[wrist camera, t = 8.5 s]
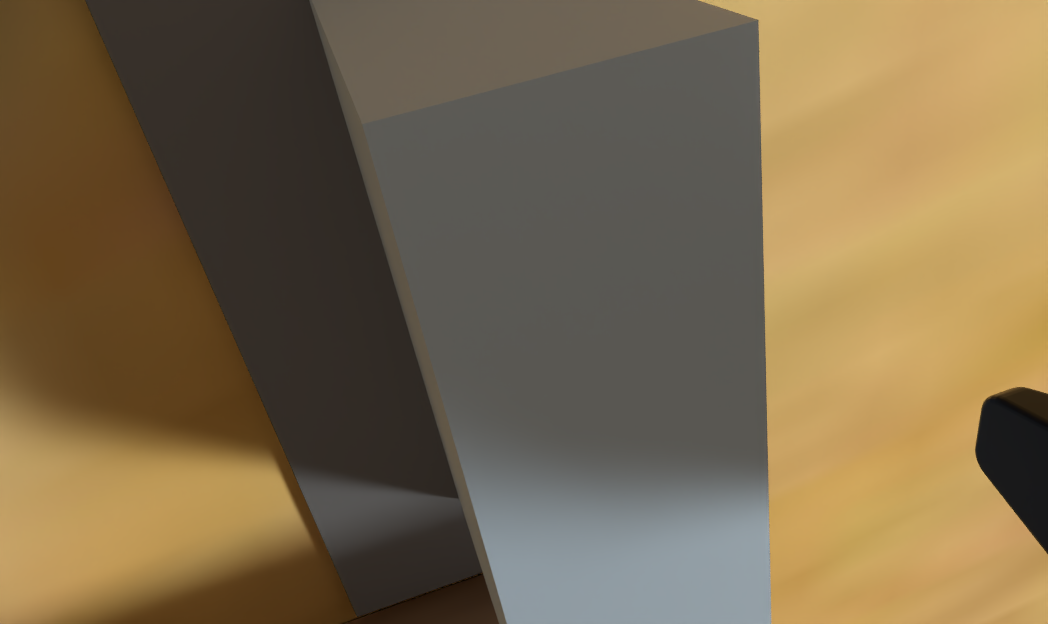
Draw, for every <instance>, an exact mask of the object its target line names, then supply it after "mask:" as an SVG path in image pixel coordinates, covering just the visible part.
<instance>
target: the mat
mask: <svg viewBox="0 0 1048 624" xmlns="http://www.w3.org/2000/svg"><path fill="white" fill-rule="evenodd" d="M85 1H86V3H87V5H88V8H89V10H90V12H91V15H92V17H93V19H94V21H95V24H96V26H97V28H98V30H99V33H100V35H101V37H102V39H103V42H104V44H105V46H106V49H107V51H108V53H109V55H110V58H111V60H112V62H113V64H114V67H115V69H116V71H117V73H118V76H119V78H120V80H121V83H122V85H123V87H124V89H125V92H126V94H127V96H128V98H129V101H130V103H131V105H132V108H133V110H134V112H135V114H136V117H137V119H138V121H139V123H140V126H141V128H142V130H143V132H144V135H145V137H146V139H147V142H148V144H149V146H150V148H151V151H152V153H153V155H154V157H155V160H156V162H157V164H158V166H159V169H160V171H161V173H162V176H163V178H164V180H165V182H166V185H167V187H168V189H169V191H170V194H171V196H172V198H173V200H174V203H175V205H176V207H177V210H178V212H179V214H180V216H181V219H182V221H183V223H184V225H185V228H186V230H187V232H188V235H189V237H190V239H191V241H192V244H193V246H194V248H195V250H196V253H197V255H198V257H199V259H200V262H201V264H202V266H203V269H204V271H205V273H206V275H207V278H208V280H209V282H210V284H211V287H212V289H213V291H214V293H215V296H216V298H217V300H218V303H219V305H220V307H221V309H222V312H223V314H224V316H225V318H226V321H227V323H228V325H229V327H230V330H231V332H232V334H233V337H234V339H235V341H236V343H237V346H238V348H239V350H240V352H241V355H242V357H243V359H244V362H245V364H246V366H247V368H248V371H249V373H250V375H251V377H252V380H253V382H254V384H255V386H256V389H257V391H258V393H259V396H260V398H261V400H262V402H263V405H264V407H265V409H266V411H267V414H268V416H269V418H270V420H271V423H272V425H273V427H274V430H275V432H276V434H277V436H278V439H279V441H280V443H281V445H282V448H283V450H284V452H285V455H286V457H287V459H288V461H289V464H290V466H291V468H292V470H293V473H294V475H295V477H296V479H297V482H298V484H299V486H300V489H301V491H302V493H303V495H304V498H305V500H306V502H307V504H308V507H309V509H310V511H311V513H312V516H313V518H314V520H315V523H316V525H317V527H318V529H319V532H320V534H321V536H322V538H323V541H324V543H325V545H326V547H327V550H328V552H329V554H330V557H331V559H332V561H333V563H334V566H335V568H336V570H337V572H338V575H339V577H340V579H341V582H342V584H343V586H344V588H345V591H346V593H347V595H348V597H349V600H350V602H351V604H352V606H353V609H354V611H355V613H356V616H357V617H359V616H362V615H364V614H367V613H370V612H373V611H376V610H378V609H381V608H384V607H387V606H390V605H392V604H395V603H398V602H401V601H404V600H406V599H409V598H412V597H415V596H418V595H420V594H423V593H426V592H429V591H432V590H434V589H437V588H440V587H443V586H446V585H448V584H451V583H454V582H457V581H460V580H462V579H465V578H468V577H471V576H474V575H476V574H479V573H482V569H481V566H480V563H479V559H478V556H477V553H476V550H475V547H474V544H473V541H472V538H471V534H470V531H469V528H468V525H467V522H466V519H465V516H464V513H463V510H462V506H461V503H460V500H459V497H458V494H457V490H456V487H455V484H454V480H453V477H452V474H451V470H450V467H449V464H448V460H447V457H446V454H445V450H444V447H443V444H442V440H441V437H440V434H439V430H438V427H437V424H436V420H435V417H434V414H433V410H432V407H431V404H430V400H429V397H428V394H427V390H426V387H425V384H424V381H423V377H422V374H421V371H420V367H419V364H418V361H417V357H416V354H415V351H414V347H413V344H412V341H411V337H410V334H409V331H408V327H407V324H406V321H405V317H404V314H403V311H402V307H401V304H400V301H399V297H398V294H397V291H396V287H395V284H394V281H393V277H392V274H391V271H390V267H389V264H388V261H387V257H386V254H385V251H384V247H383V244H382V241H381V237H380V234H379V231H378V227H377V224H376V221H375V217H374V214H373V211H372V208H371V204H370V201H369V198H368V194H367V191H366V188H365V184H364V181H363V178H362V174H361V171H360V168H359V164H358V161H357V158H356V154H355V151H354V148H353V144H352V141H351V138H350V134H349V131H348V128H347V124H346V121H345V118H344V114H343V111H342V108H341V104H340V101H339V98H338V94H337V91H336V88H335V84H334V81H333V78H332V74H331V71H330V68H329V64H328V61H327V58H326V54H325V51H324V48H323V44H322V41H321V38H320V35H319V31H318V28H317V25H316V21H315V18H314V15H313V11H312V8H311V5H310V1H309V0H85Z"/></svg>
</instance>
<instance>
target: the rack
mask: <svg viewBox="0 0 1048 624" xmlns="http://www.w3.org/2000/svg"><path fill="white" fill-rule="evenodd" d="M345 624H499V622H498V619H497V616H496V612H495V609H494V606H493V603H492V600H491V597H490V594H489V591H488V587H487V584H486V581H485V578H484V575H483V574H482V575H479V576H476V577H474V578H471V579H468V580H465V581H462V582H460V583H457V584H454V585H451V586H448V587H446V588H443V589H440V590H437V591H434V592H432V593H429V594H426V595H423V596H420V597H418V598H415V599H412V600H409V601H406V602H404V603H401V604H398V605H395V606H392V607H390V608H387V609H384V610H381V611H378V612H376V613H373V614H370V615H367V616H364V617H362V618H359V619H356V620H353V621H350V622H348V623H345Z"/></svg>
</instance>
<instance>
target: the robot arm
mask: <svg viewBox="0 0 1048 624" xmlns="http://www.w3.org/2000/svg"><path fill="white" fill-rule="evenodd" d="M975 453H976V458H977V461H978V463H979V465H980V467H981V469H982V471H983V472H984V474H985V475H986V476H987V477H988V479H989V480H990V481H991V482H992V484H993V485H994V486H995V488H996V489H997V490H998V491H999V493H1000V494H1001V495H1002V496H1003V498H1004V499H1005V500H1006V502H1007V503H1008V504H1009V505H1010V507H1011V508H1012V509H1013V510H1014V512H1015V513H1016V514H1017V516H1018V517H1019V518H1020V519H1021V521H1022V522H1023V523H1024V524H1025V526H1026V527H1027V528H1028V530H1029V531H1030V532H1031V533H1032V535H1033V536H1034V537H1035V538H1036V540H1037V541H1038V542H1039V544H1040V545H1041V546H1042V547H1043V549H1044V550H1045V551H1046V552H1047V554H1048V394H1047V393H1043V392H1040V391H1036V390H1033V389H1029V388H1025V387H1016V388H1012V389H1009V390H1006V391H1003V392H1000V393H998V394H995V395H992V396H990V397H988V398H987V399H986V400H985V401H984V403H983V405H982V409H981V415H980V421H979V428H978V434H977V440H976V446H975Z"/></svg>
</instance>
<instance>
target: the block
mask: <svg viewBox="0 0 1048 624" xmlns="http://www.w3.org/2000/svg"><path fill="white" fill-rule="evenodd" d="M309 1H310V5H311V8H312V11H313V15H314V18H315V21H316V25H317V28H318V31H319V35H320V38H321V41H322V44H323V48H324V51H325V54H326V58H327V61H328V64H329V68H330V71H331V74H332V78H333V81H334V84H335V88H336V91H337V94H338V98H339V101H340V104H341V108H342V111H343V114H344V118H345V121H346V124H347V128H348V131H349V134H350V138H351V141H352V144H353V148H354V151H355V154H356V158H357V161H358V164H359V168H360V171H361V174H362V178H363V181H364V184H365V188H366V191H367V194H368V198H369V201H370V204H371V208H372V211H373V214H374V217H375V221H376V224H377V227H378V231H379V234H380V237H381V241H382V244H383V247H384V251H385V254H386V257H387V261H388V264H389V267H390V271H391V274H392V277H393V281H394V284H395V287H396V291H397V294H398V297H399V301H400V304H401V307H402V311H403V314H404V317H405V321H406V324H407V327H408V331H409V334H410V337H411V341H412V344H413V347H414V351H415V354H416V357H417V361H418V364H419V367H420V371H421V374H422V377H423V381H424V384H425V387H426V390H427V394H428V397H429V400H430V404H431V407H432V410H433V414H434V417H435V420H436V424H437V427H438V430H439V434H440V437H441V440H442V444H443V447H444V450H445V454H446V457H447V460H448V464H449V467H450V470H451V474H452V477H453V480H454V484H455V487H456V490H457V494H458V497H459V500H460V503H461V506H462V510H463V513H464V516H465V519H466V522H467V525H468V528H469V531H470V534H471V538H472V541H473V544H474V547H475V550H476V553H477V556H478V559H479V563H480V566H481V569H482V572H483V575H484V578H485V581H486V584H487V587H488V591H489V594H490V597H491V600H492V603H493V606H494V609H495V612H496V616H497V619H498V622H499V624H771V589H770V543H769V496H768V450H767V403H766V356H765V310H764V263H763V217H762V170H761V123H760V77H759V30H758V20H756V19H753V18H750V17H747V16H744V15H741V14H738V13H735V12H732V11H729V10H726V9H723V8H720V7H717V6H713V5H710V4H707V3H704V2H701V1H698V0H309Z"/></svg>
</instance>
